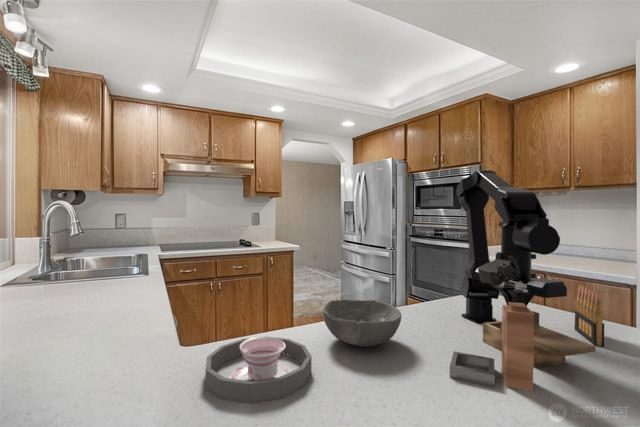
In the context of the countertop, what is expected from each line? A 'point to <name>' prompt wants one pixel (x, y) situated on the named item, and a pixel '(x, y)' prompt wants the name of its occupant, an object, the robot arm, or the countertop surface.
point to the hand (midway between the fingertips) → (515, 319)
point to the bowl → (361, 321)
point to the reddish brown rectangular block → (517, 346)
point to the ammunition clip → (589, 316)
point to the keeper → (473, 374)
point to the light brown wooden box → (540, 356)
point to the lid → (557, 341)
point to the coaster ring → (259, 388)
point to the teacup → (261, 359)
